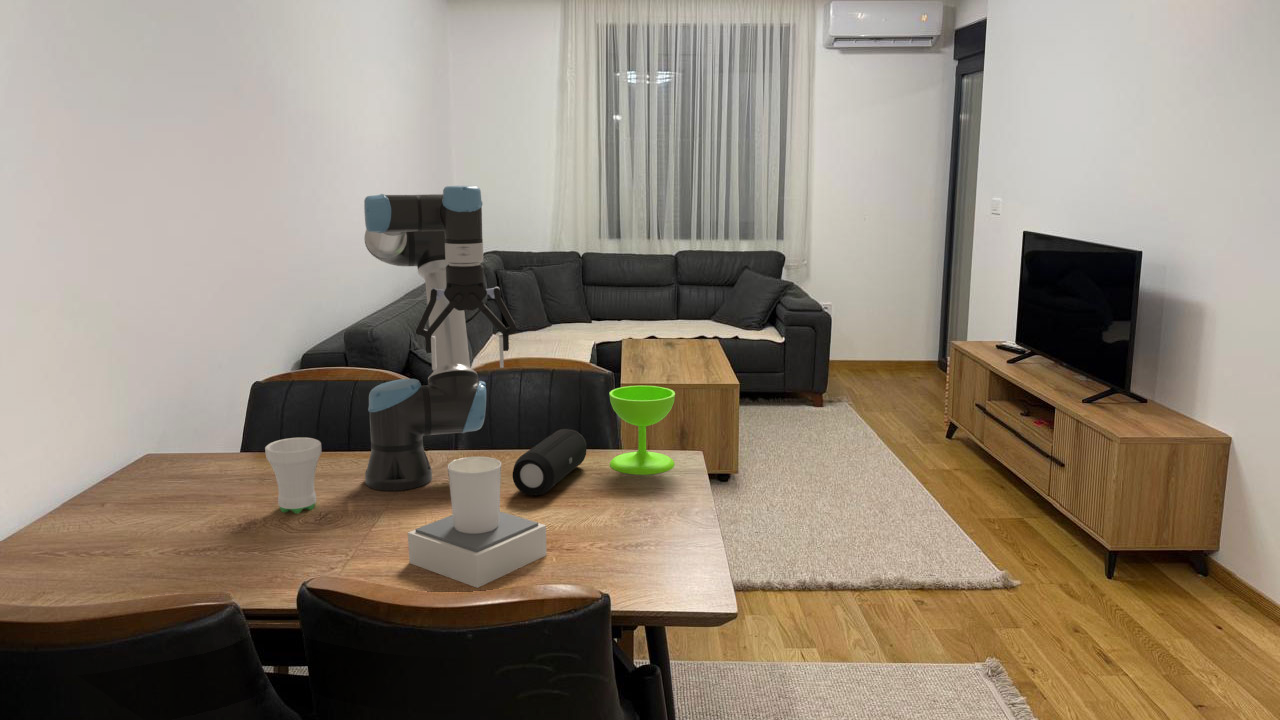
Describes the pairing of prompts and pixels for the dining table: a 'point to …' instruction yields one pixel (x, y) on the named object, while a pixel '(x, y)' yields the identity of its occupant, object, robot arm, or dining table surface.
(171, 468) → the dining table surface
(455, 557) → the plinth
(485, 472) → the candle holder
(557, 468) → the portable speaker
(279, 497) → the cup
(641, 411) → the wineglass
